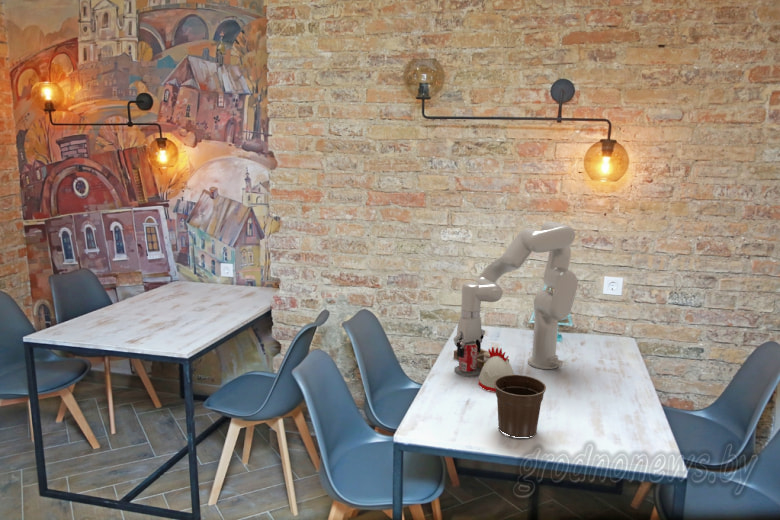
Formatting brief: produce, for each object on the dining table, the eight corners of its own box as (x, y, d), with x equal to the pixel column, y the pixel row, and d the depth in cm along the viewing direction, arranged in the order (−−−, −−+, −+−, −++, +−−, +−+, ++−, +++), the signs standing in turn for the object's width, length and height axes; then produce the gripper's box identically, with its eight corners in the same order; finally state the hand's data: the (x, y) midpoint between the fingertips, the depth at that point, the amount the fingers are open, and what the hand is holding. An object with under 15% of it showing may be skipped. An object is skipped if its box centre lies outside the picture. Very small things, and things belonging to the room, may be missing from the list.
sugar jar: (498, 366, 249) (499, 354, 248) (490, 370, 246) (490, 357, 245) (488, 363, 253) (489, 350, 252) (480, 365, 250) (480, 353, 249)
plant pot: (510, 447, 186) (513, 398, 182) (482, 424, 200) (484, 378, 197) (552, 437, 192) (556, 390, 189) (522, 415, 206) (525, 371, 203)
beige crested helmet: (488, 374, 241) (490, 339, 238) (520, 383, 233) (523, 346, 230) (472, 386, 230) (474, 349, 227) (505, 395, 222) (508, 357, 219)
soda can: (476, 367, 247) (478, 339, 244) (475, 374, 240) (477, 345, 237) (459, 366, 248) (460, 338, 245) (457, 372, 241) (459, 344, 239)
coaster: (487, 372, 243) (487, 371, 243) (468, 378, 237) (468, 377, 236) (467, 364, 252) (467, 362, 252) (448, 370, 245) (448, 369, 245)
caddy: (508, 367, 249) (509, 359, 248) (490, 373, 242) (491, 365, 241) (471, 352, 264) (471, 345, 264) (453, 358, 258) (453, 350, 257)
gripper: (478, 307, 247) (476, 347, 251) (448, 315, 236) (446, 356, 240) (492, 311, 242) (490, 352, 245) (462, 319, 231) (460, 361, 234)
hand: (468, 354), depth 243 cm, fingers open, 9 cm apart
